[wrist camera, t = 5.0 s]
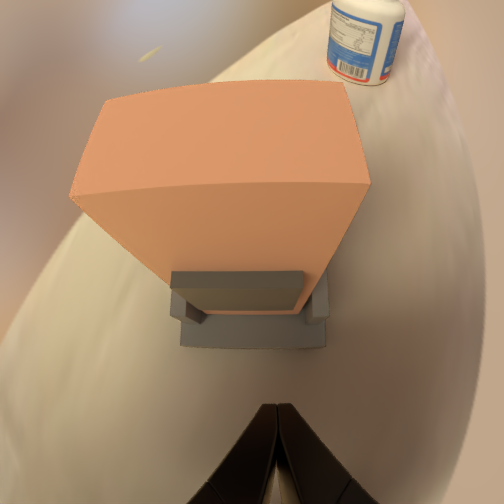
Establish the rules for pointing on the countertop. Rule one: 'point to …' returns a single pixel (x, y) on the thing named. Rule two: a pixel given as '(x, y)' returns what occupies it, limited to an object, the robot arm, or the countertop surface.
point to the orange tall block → (228, 187)
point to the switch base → (255, 325)
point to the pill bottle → (364, 39)
